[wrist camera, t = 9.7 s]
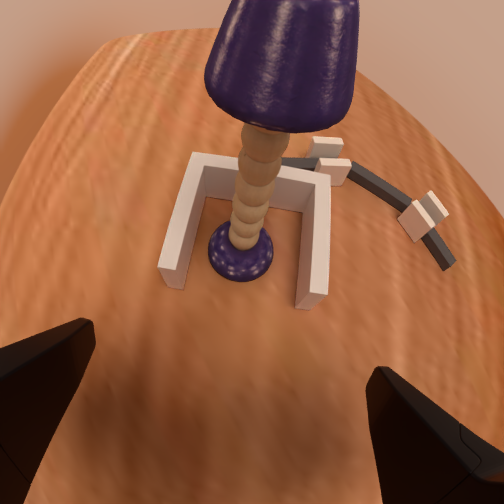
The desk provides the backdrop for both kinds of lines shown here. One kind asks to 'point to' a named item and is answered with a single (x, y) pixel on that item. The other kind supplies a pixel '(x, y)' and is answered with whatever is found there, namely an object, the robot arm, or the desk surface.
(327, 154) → the clip
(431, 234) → the cable run
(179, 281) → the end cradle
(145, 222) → the desk surface
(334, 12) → the toy lamp
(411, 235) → the clip
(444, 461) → the robot arm
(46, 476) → the desk surface
